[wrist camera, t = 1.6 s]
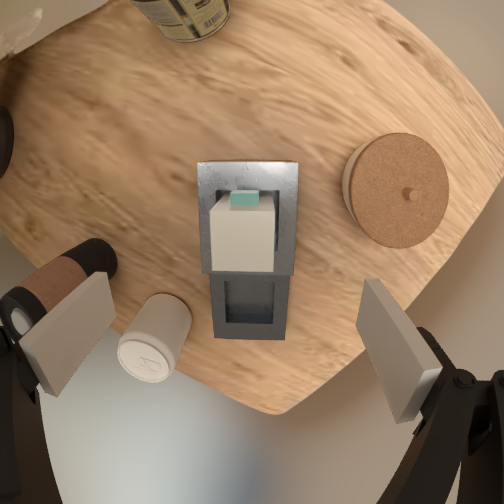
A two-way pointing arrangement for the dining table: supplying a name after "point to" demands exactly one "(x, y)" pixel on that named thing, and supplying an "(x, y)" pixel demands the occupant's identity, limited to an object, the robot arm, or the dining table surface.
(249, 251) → the plug
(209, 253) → the grey stepped socket block
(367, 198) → the lidded bowl
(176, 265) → the dining table surface
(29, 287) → the travel mug
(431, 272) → the dining table surface
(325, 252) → the dining table surface
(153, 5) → the coffee can
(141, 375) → the beverage can
